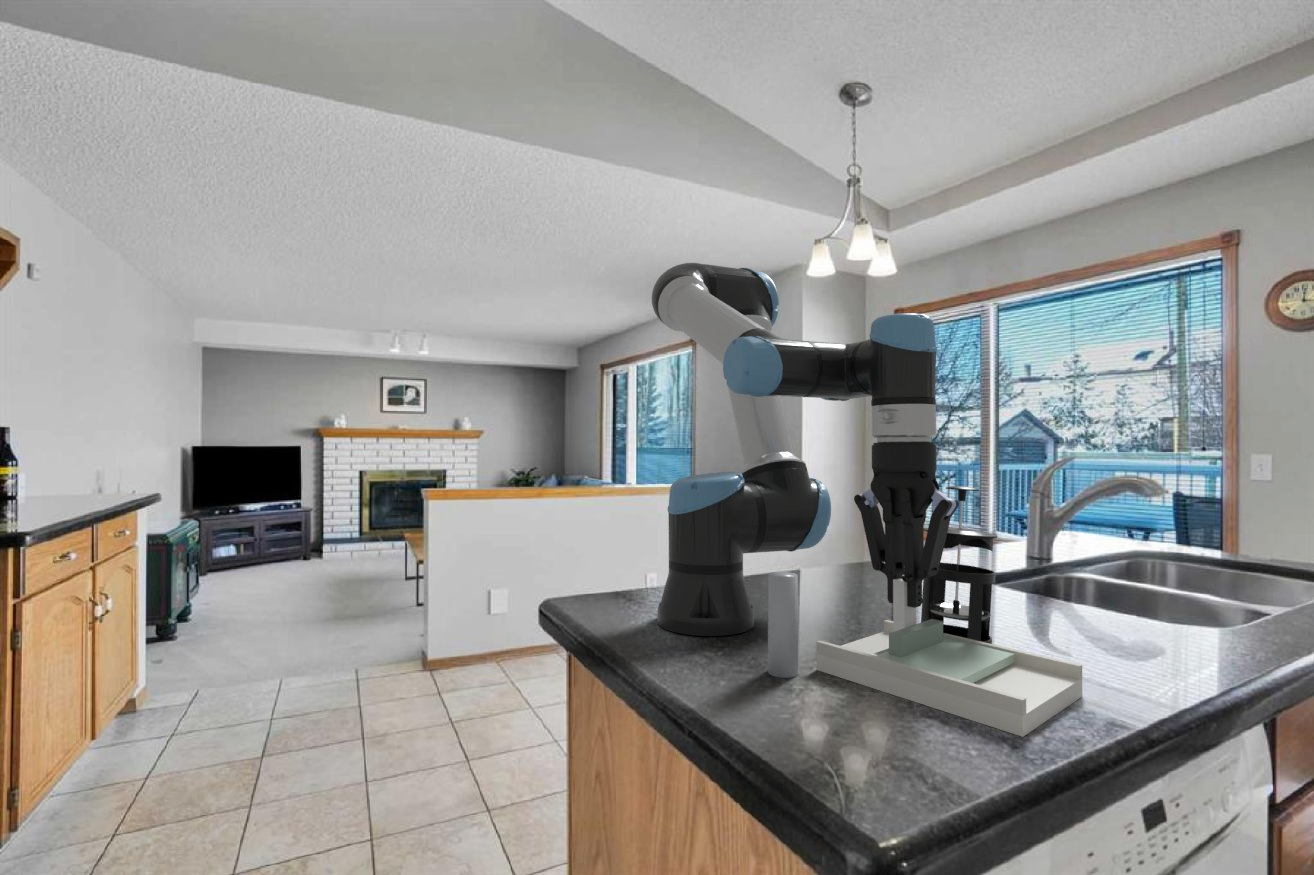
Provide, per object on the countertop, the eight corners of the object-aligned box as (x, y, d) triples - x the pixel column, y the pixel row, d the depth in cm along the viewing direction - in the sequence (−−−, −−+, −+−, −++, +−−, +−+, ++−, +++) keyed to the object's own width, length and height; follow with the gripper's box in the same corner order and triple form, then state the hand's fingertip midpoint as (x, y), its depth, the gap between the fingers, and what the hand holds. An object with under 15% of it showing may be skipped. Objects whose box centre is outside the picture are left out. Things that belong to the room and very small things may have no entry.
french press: (1011, 671, 83) (1021, 490, 84) (942, 669, 82) (952, 486, 83) (959, 644, 95) (967, 486, 95) (897, 642, 93) (906, 482, 94)
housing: (816, 669, 81) (816, 641, 81) (886, 644, 91) (886, 619, 91) (1023, 736, 62) (1022, 700, 62) (1082, 696, 73) (1082, 664, 73)
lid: (874, 664, 76) (874, 634, 76) (933, 642, 85) (933, 615, 85) (959, 689, 68) (959, 656, 68) (1014, 662, 77) (1014, 632, 77)
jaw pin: (761, 671, 80) (761, 574, 80) (780, 665, 82) (780, 570, 83) (784, 680, 77) (784, 578, 78) (803, 673, 80) (803, 575, 80)
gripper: (840, 440, 83) (841, 626, 83) (939, 439, 73) (940, 650, 73) (873, 441, 88) (874, 616, 88) (970, 440, 78) (972, 638, 78)
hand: (904, 631), depth 80 cm, fingers closed
